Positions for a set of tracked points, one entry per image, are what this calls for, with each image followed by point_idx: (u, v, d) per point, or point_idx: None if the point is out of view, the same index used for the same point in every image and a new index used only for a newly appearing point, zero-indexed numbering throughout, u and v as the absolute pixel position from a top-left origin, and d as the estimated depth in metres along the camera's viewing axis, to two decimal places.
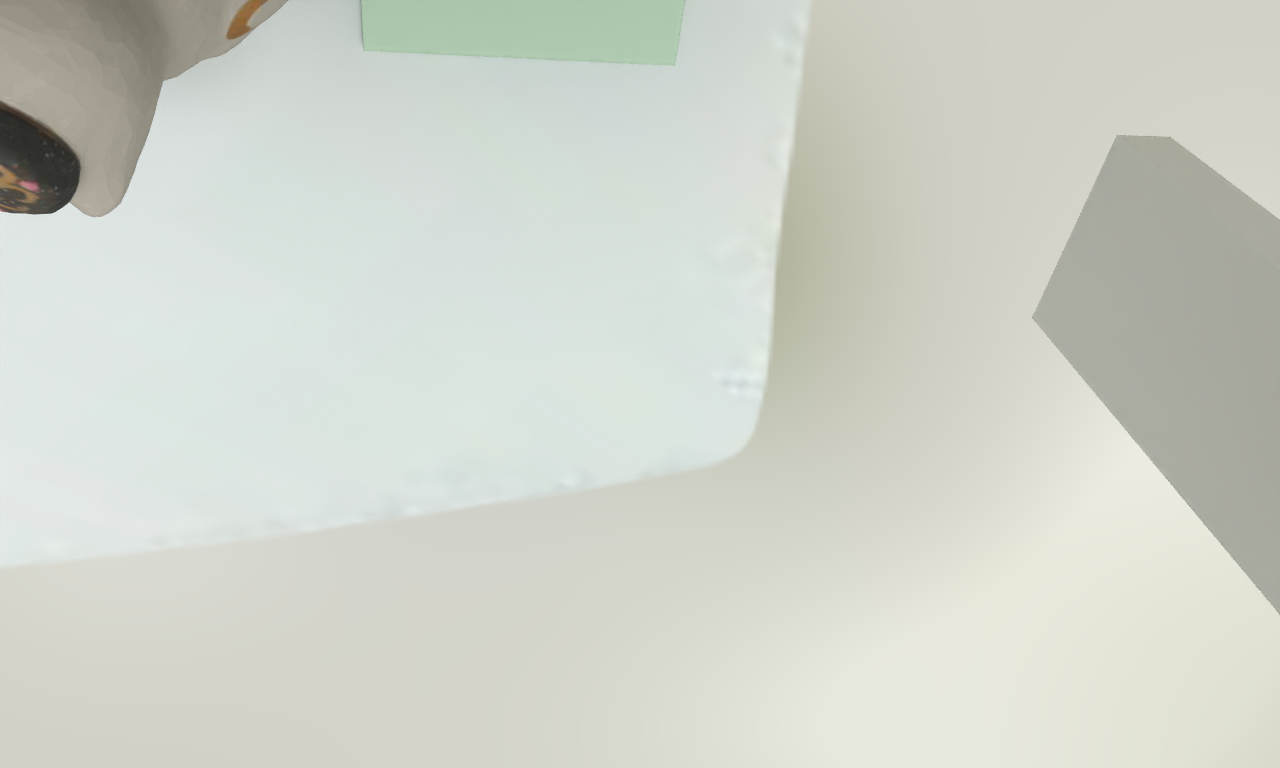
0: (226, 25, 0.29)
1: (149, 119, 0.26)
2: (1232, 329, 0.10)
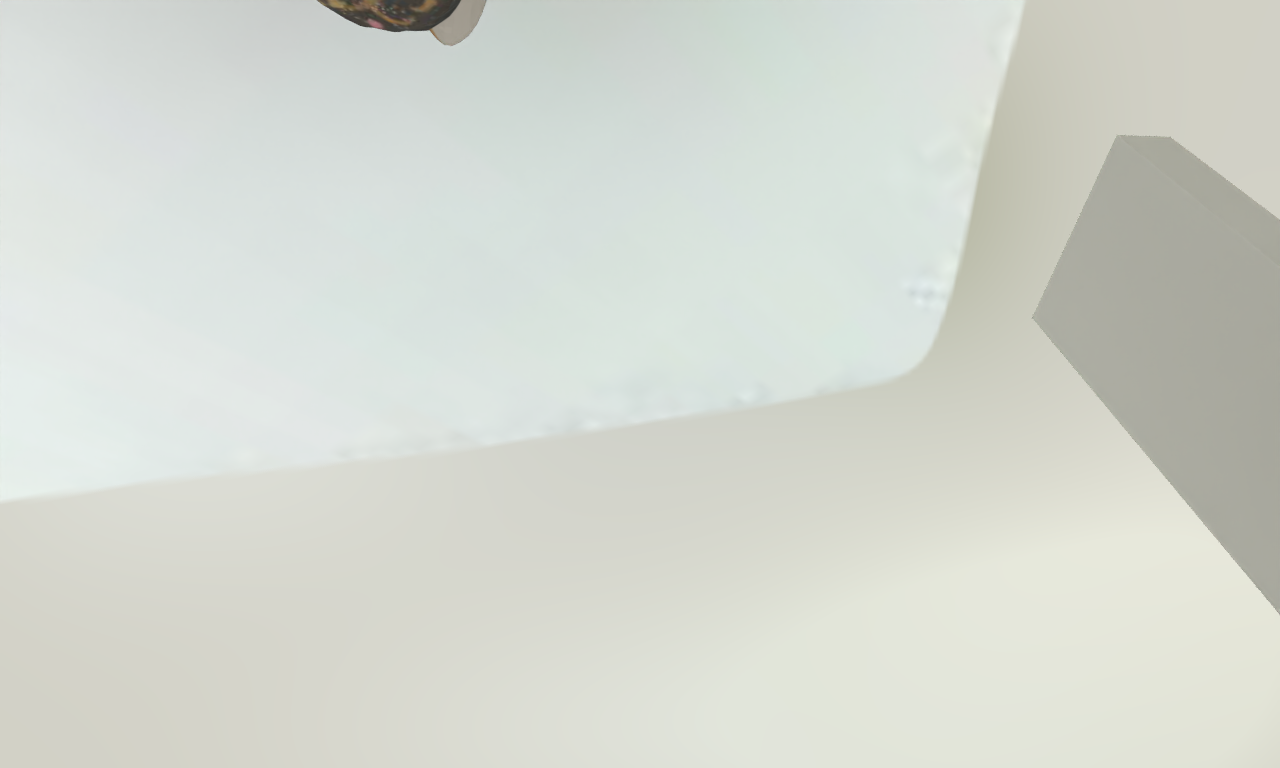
0: None
1: None
2: (1232, 329, 0.10)
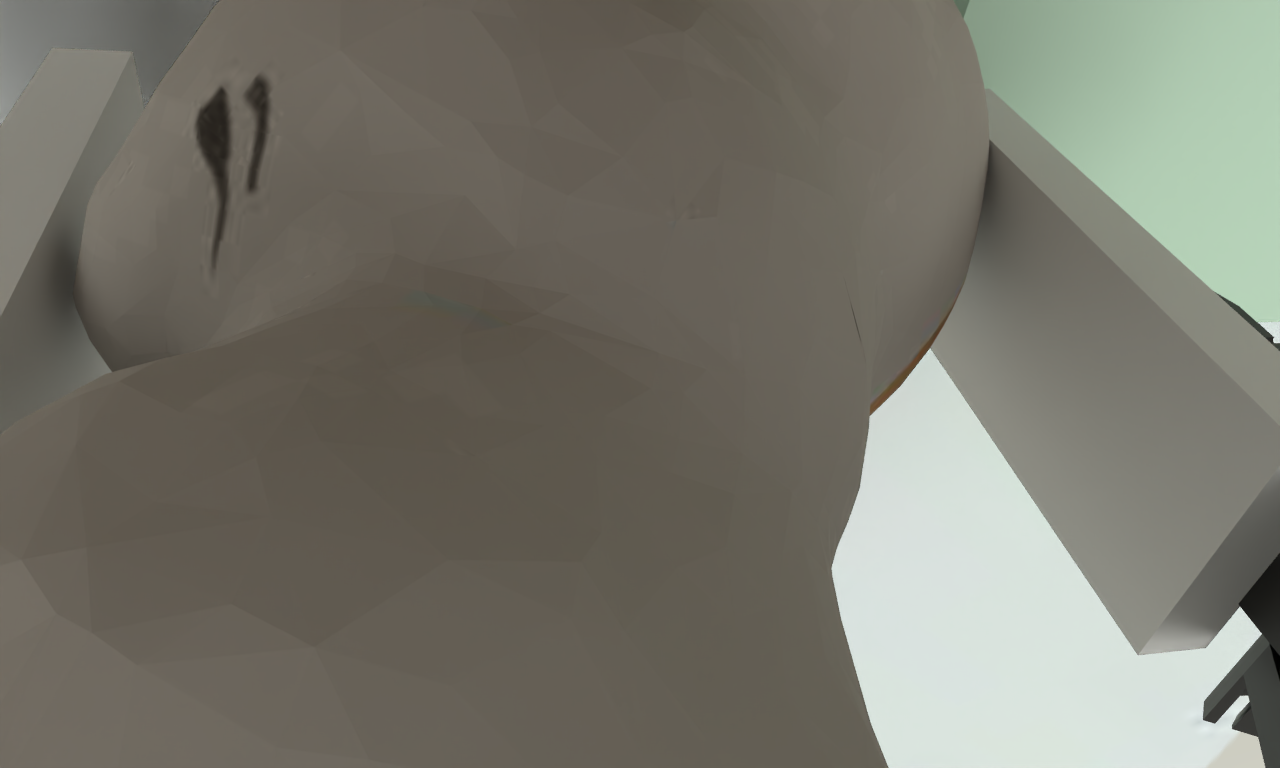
0: None
1: None
2: (1019, 263, 0.11)
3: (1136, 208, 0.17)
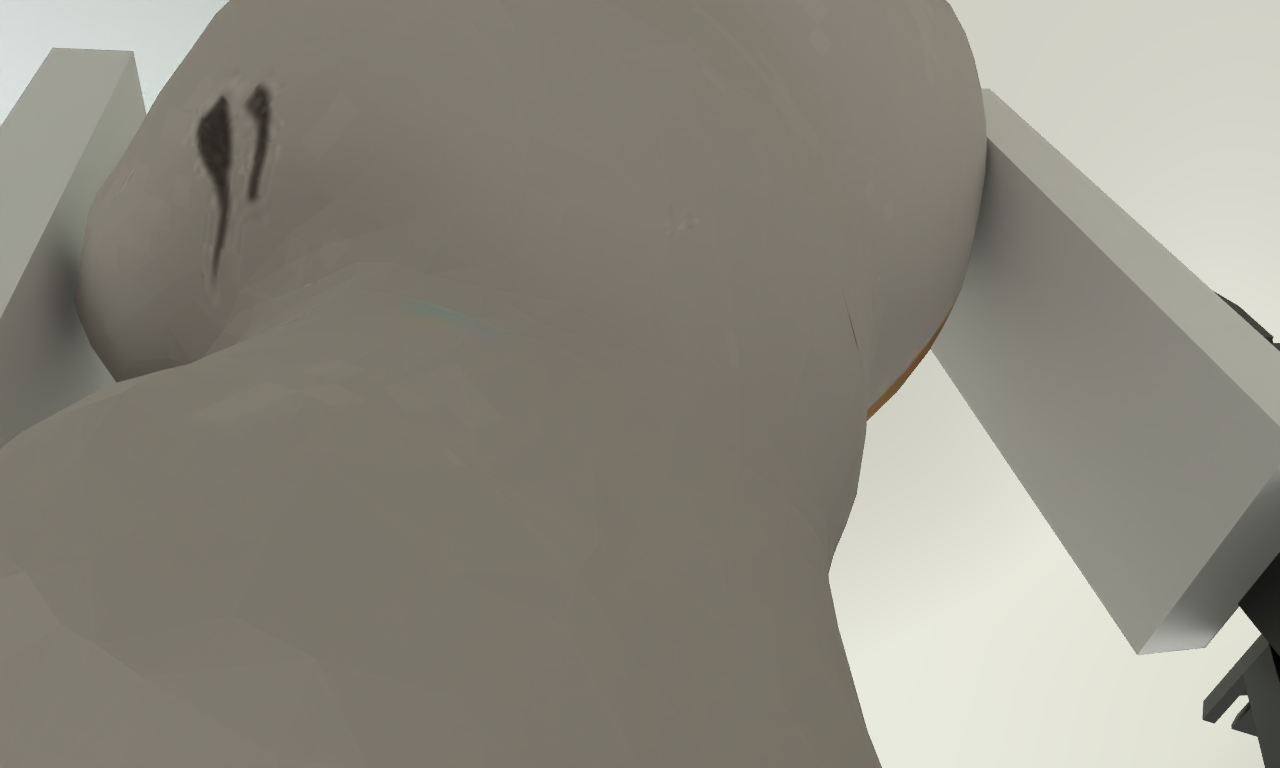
0: None
1: None
2: (1018, 263, 0.11)
3: None
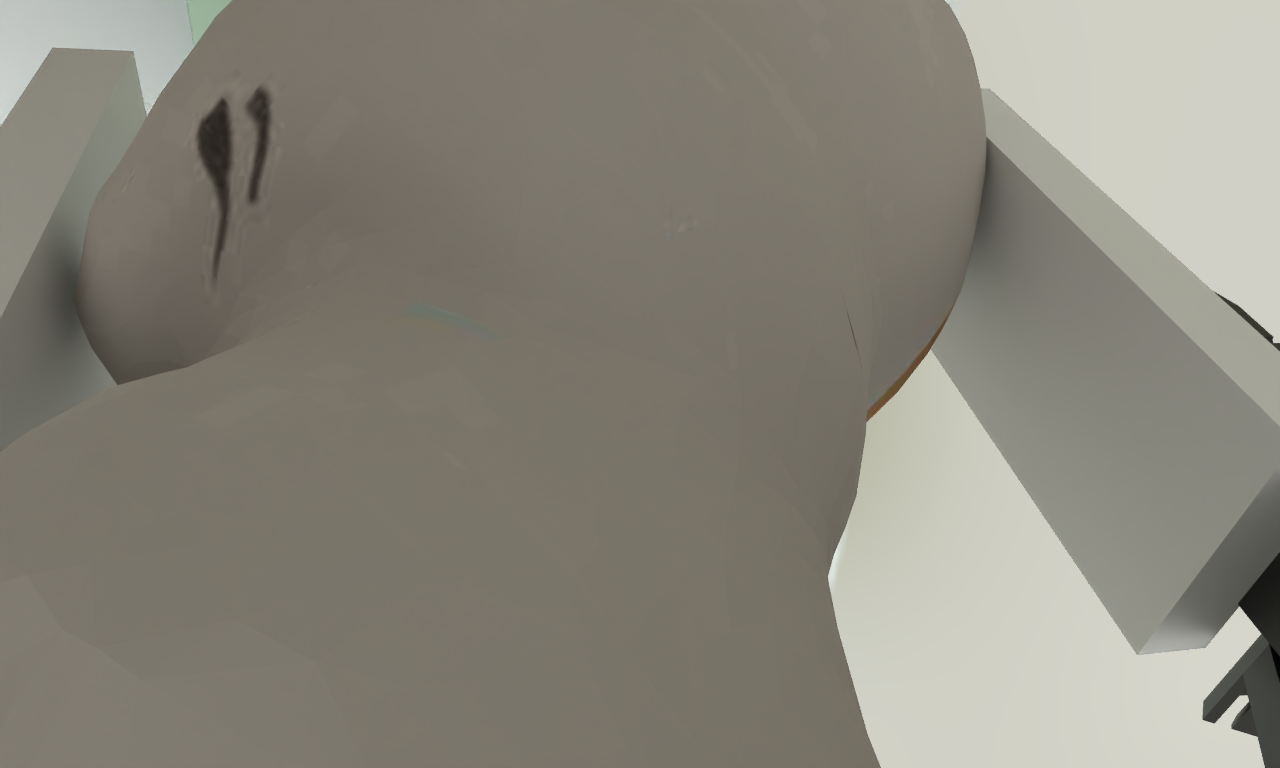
0: None
1: None
2: (1019, 263, 0.11)
3: None
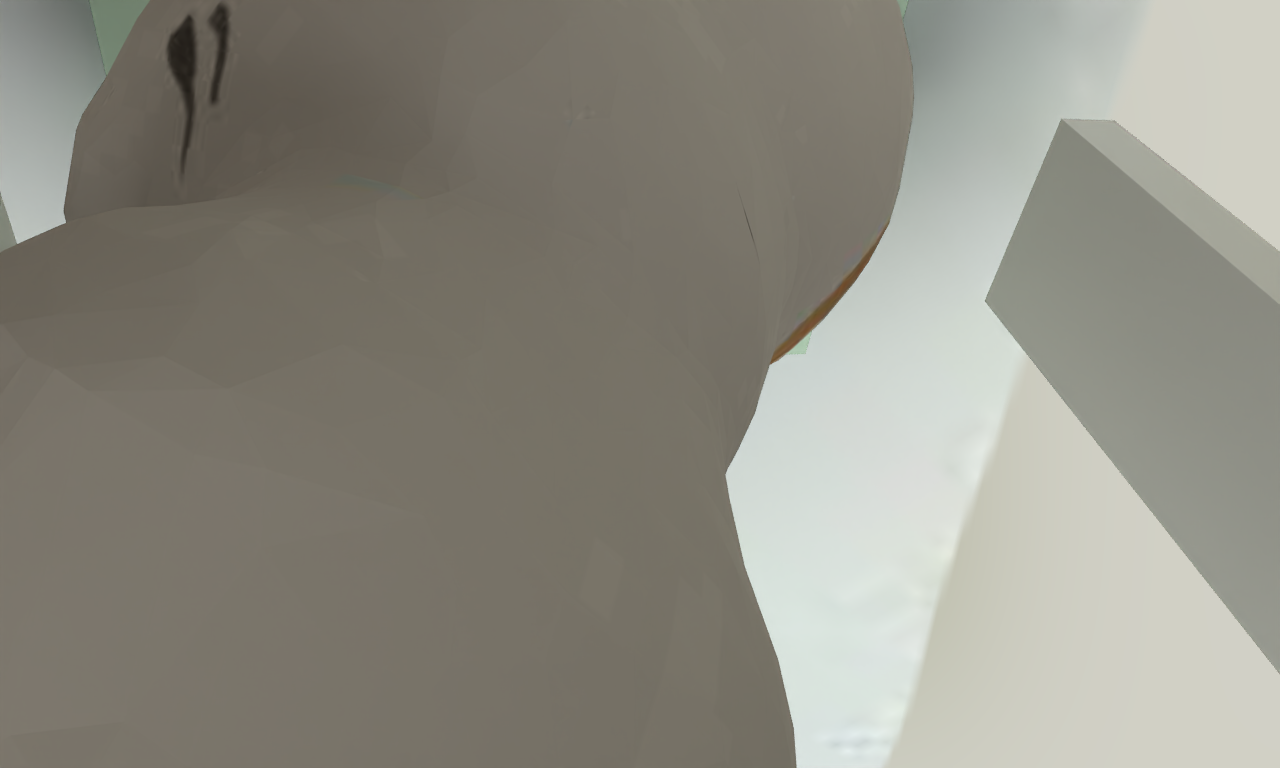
0: None
1: None
2: (1166, 306, 0.10)
3: None
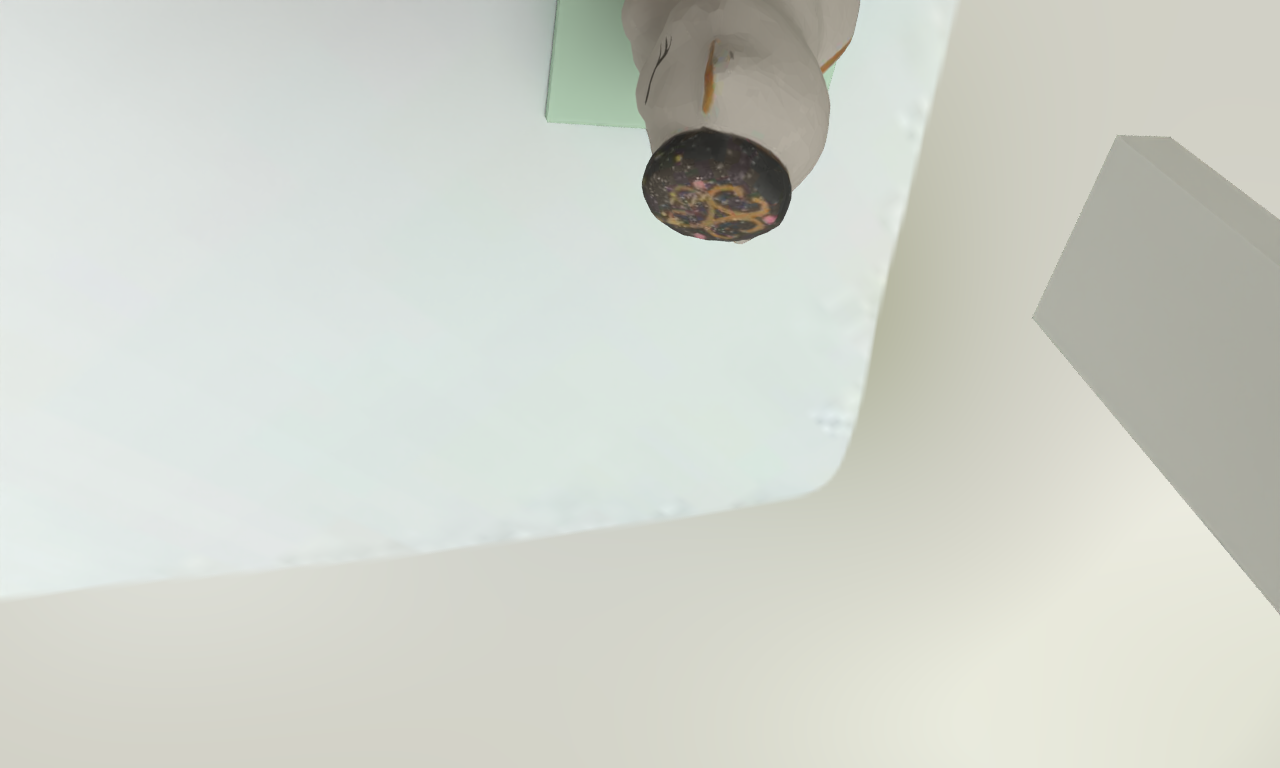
0: None
1: None
2: (1232, 329, 0.10)
3: None
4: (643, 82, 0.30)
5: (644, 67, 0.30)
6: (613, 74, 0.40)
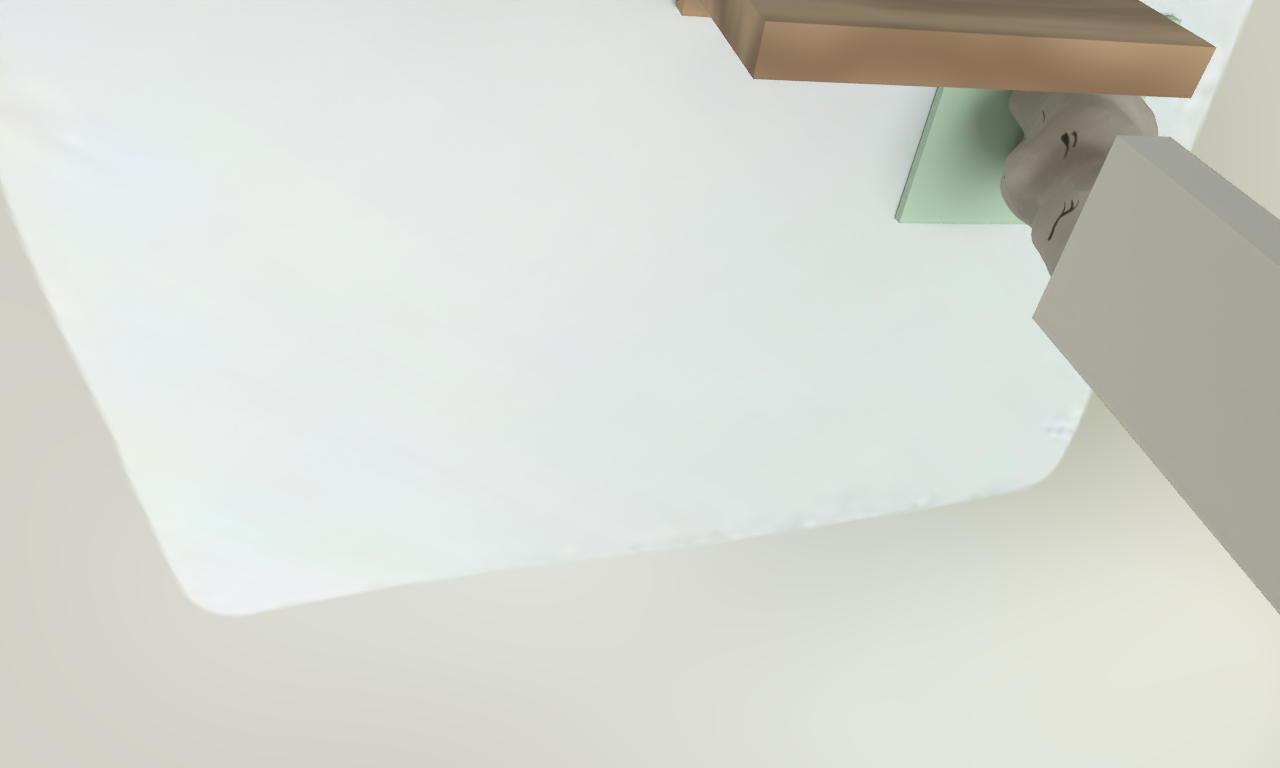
0: None
1: None
2: (1232, 328, 0.10)
3: (985, 184, 0.54)
4: (1044, 224, 0.44)
5: (1044, 213, 0.44)
6: (952, 188, 0.54)
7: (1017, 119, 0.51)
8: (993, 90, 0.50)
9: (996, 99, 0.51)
